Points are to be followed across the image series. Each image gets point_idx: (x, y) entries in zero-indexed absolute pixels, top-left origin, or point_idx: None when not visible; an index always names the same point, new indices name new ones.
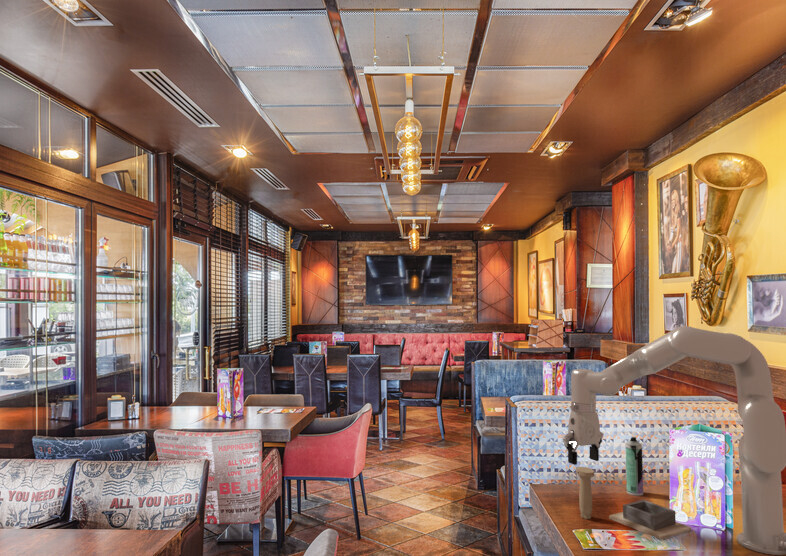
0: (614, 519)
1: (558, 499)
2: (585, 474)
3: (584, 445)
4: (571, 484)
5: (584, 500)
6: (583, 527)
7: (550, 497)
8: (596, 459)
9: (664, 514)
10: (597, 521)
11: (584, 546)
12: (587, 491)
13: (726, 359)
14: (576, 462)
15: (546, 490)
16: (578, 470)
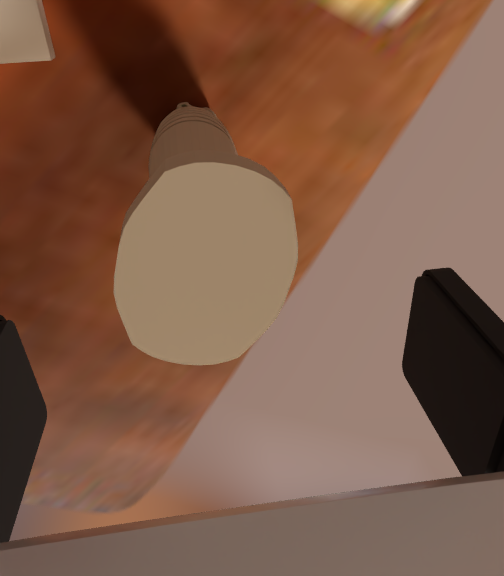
0: (42, 10)
1: (150, 370)
2: (283, 186)
3: (472, 475)
4: None
5: (230, 141)
6: (315, 17)
7: (170, 396)
8: (7, 331)
9: None
10: (164, 55)
11: None
12: (217, 149)
13: None
14: (448, 279)
15: (129, 457)
16: (290, 283)
